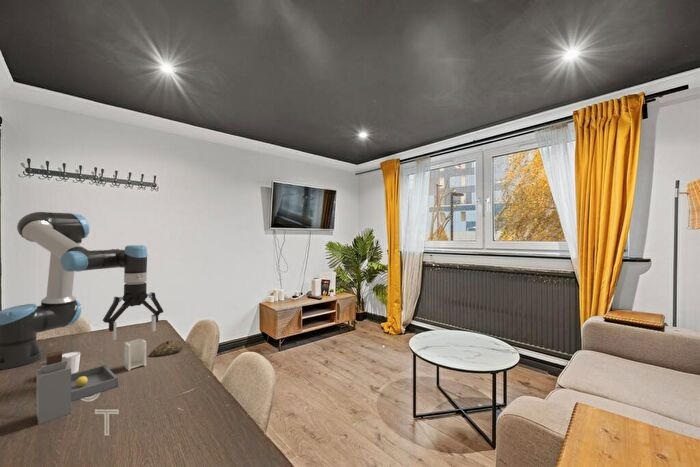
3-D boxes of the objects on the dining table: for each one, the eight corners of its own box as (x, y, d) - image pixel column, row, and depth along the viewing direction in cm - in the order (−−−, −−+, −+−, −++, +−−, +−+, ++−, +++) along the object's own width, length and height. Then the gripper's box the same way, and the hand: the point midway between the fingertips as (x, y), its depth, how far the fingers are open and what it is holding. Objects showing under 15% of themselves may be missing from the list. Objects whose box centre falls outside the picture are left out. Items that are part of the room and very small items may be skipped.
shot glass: (65, 377, 112) (65, 359, 112) (51, 375, 113) (51, 357, 113) (85, 369, 118) (85, 352, 119) (71, 368, 120) (71, 350, 120)
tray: (48, 388, 104) (48, 380, 104) (104, 372, 116) (104, 364, 116) (56, 406, 93) (56, 396, 93) (118, 386, 105) (118, 378, 105)
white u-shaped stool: (124, 366, 121) (124, 342, 121) (141, 362, 125) (141, 338, 125) (128, 371, 117) (128, 345, 117) (146, 365, 122) (146, 341, 122)
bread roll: (180, 354, 134) (180, 343, 134) (148, 358, 130) (148, 347, 130) (184, 344, 146) (184, 334, 146) (155, 348, 141) (155, 338, 141)
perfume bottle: (67, 405, 93) (67, 348, 93) (71, 413, 89) (71, 353, 89) (36, 415, 88) (36, 354, 88) (38, 424, 84) (38, 360, 84)
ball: (74, 389, 103) (73, 379, 104) (86, 385, 106) (85, 376, 107) (77, 386, 102) (76, 376, 103) (89, 383, 104) (88, 373, 105)
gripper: (98, 288, 109) (97, 345, 109) (172, 280, 129) (171, 329, 129) (93, 285, 114) (92, 340, 114) (165, 278, 134) (164, 325, 134)
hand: (134, 334), depth 121 cm, fingers open, 13 cm apart
